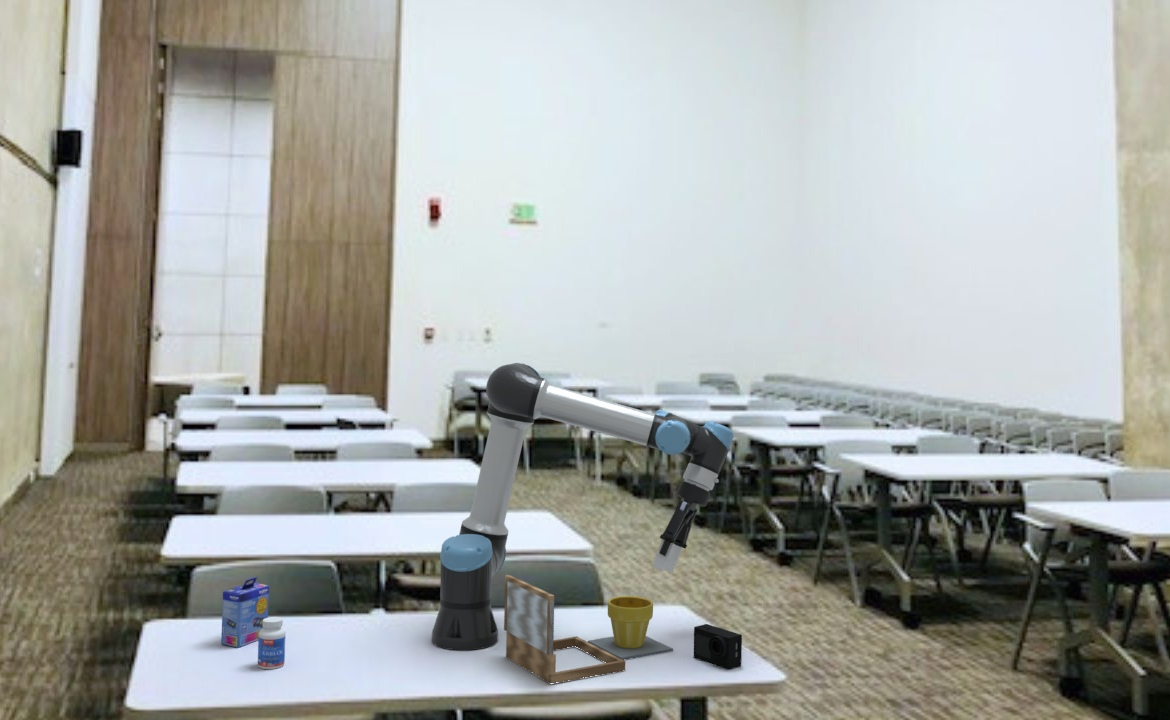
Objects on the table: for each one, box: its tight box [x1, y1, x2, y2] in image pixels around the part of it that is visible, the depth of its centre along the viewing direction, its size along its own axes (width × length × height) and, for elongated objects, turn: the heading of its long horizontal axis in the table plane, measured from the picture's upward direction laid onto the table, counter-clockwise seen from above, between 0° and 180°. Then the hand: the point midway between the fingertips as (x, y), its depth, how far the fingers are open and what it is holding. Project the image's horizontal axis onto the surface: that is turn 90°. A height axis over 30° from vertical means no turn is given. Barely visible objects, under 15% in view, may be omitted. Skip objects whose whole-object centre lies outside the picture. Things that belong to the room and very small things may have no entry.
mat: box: [587, 635, 674, 661], centre depth 223 cm, size 14×14×1 cm
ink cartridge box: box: [220, 576, 270, 649], centre depth 222 cm, size 10×6×14 cm, turn 158°
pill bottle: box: [257, 616, 286, 670], centre depth 205 cm, size 6×5×10 cm
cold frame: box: [503, 574, 626, 684], centre depth 210 cm, size 20×19×18 cm
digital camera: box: [693, 623, 743, 671], centre depth 213 cm, size 10×5×7 cm, turn 40°
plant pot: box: [607, 595, 654, 648], centre depth 223 cm, size 10×10×10 cm
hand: (662, 570), depth 228 cm, fingers open, 13 cm apart
